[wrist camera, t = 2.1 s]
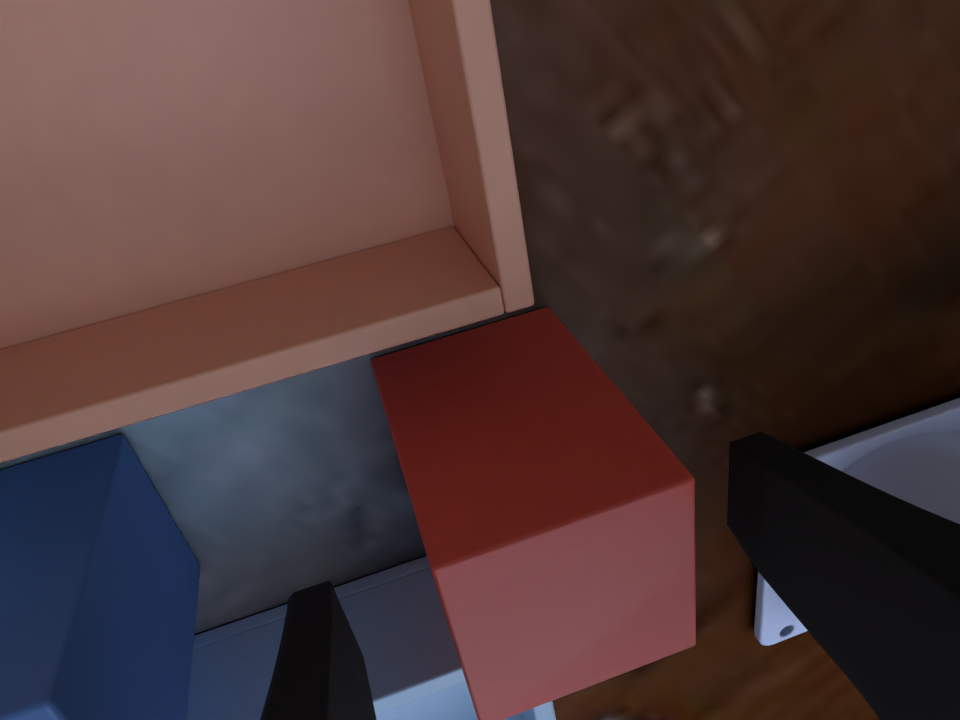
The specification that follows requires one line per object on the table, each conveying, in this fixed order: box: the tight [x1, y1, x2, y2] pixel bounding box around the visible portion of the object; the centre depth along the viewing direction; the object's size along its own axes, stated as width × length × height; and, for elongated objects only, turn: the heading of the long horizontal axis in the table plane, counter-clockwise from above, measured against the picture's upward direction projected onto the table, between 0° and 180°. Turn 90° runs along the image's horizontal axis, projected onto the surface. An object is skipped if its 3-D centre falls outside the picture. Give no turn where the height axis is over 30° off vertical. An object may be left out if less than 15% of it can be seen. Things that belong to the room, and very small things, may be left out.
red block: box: [371, 307, 696, 720], centre depth 13 cm, size 4×4×6 cm
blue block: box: [0, 435, 200, 720], centre depth 12 cm, size 4×4×6 cm
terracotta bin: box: [0, 0, 534, 463], centre depth 9 cm, size 10×8×3 cm
